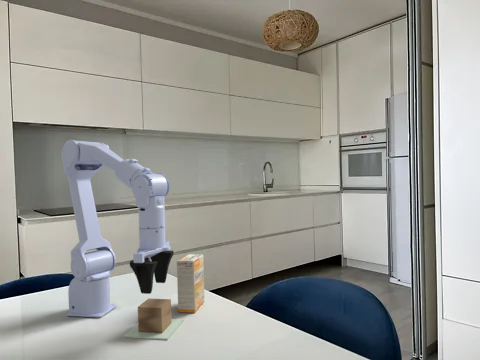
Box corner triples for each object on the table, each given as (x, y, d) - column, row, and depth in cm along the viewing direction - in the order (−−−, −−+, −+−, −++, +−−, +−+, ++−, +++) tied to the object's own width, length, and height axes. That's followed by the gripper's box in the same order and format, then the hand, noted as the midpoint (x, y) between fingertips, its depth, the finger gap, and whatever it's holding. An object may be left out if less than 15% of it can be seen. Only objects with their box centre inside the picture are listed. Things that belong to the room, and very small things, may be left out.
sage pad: (123, 337, 76) (123, 335, 76) (144, 318, 86) (144, 317, 86) (167, 339, 74) (167, 338, 74) (183, 320, 84) (183, 319, 84)
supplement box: (195, 313, 89) (194, 260, 89) (177, 312, 90) (175, 260, 90) (205, 301, 97) (204, 253, 97) (188, 301, 98) (187, 253, 98)
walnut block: (138, 332, 78) (137, 306, 78) (149, 321, 83) (148, 298, 83) (162, 333, 77) (161, 307, 77) (171, 323, 82) (170, 299, 82)
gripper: (155, 232, 72) (157, 299, 72) (180, 222, 87) (182, 278, 87) (123, 232, 74) (125, 297, 74) (153, 223, 88) (154, 278, 88)
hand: (153, 287), depth 80 cm, fingers open, 7 cm apart
